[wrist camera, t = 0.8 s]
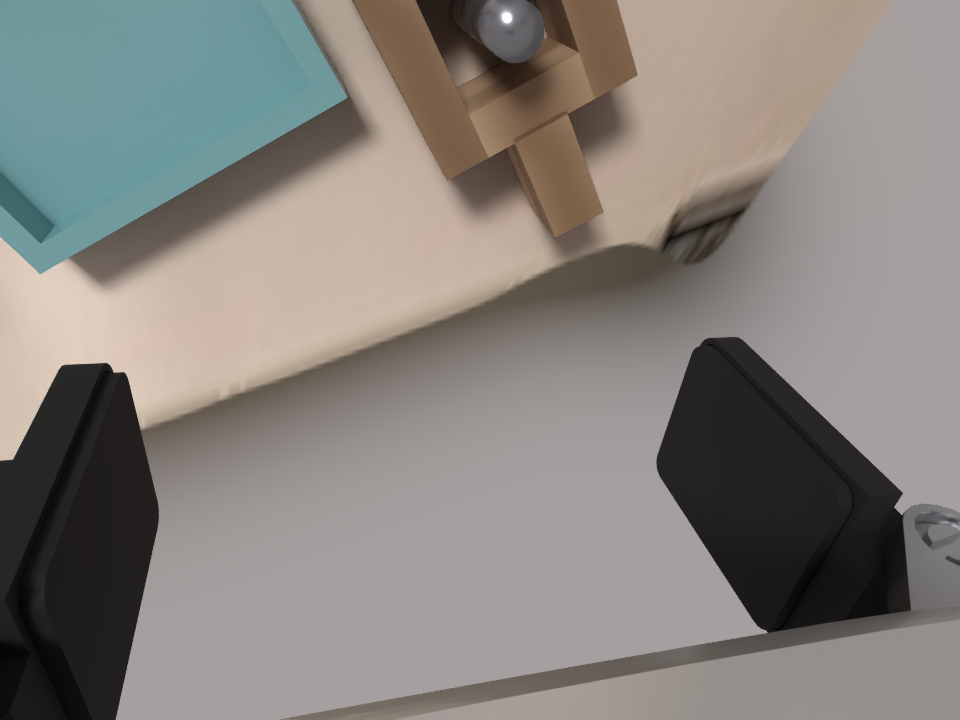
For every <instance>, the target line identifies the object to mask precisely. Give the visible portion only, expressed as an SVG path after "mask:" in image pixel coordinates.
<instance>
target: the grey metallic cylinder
mask: <svg viewBox="0 0 960 720" xmlns="http://www.w3.org/2000/svg"><path fill="white" fill-rule="evenodd" d="M453 15H454V19H455V21H456V23H457V25H458V26H459V27H460V28H461V29H462V30H463V31H464V32H466V33H467V34H468V35H470V36H471V37H472V38H474V39H475V40H476V41H478V42H479V43H480V44H482V45H483V46H484V47H486V48H487V49H488V50H490V51H491V52H492V53H494V54H495V55H496V56H498V57H499V58H500V59H502V60H504V61H506V62H509V63H521V62H524V61H526V60H528V59H529V58H531V57H532V56H533V55H534V54H535V53H536V52H537V51H538V49H539V47H540V46H541V43H542V41H543V37H544V22H543V18H542V16H541V13H540V12H539V10H538V9H537V8H536V7H535V6H534V5H533V4H532V3H530V2H528V1H526V0H454V1H453Z"/></svg>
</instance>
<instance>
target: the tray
mask: <svg viewBox="0 0 960 720" xmlns="http://www.w3.org/2000/svg"><path fill="white" fill-rule="evenodd" d="M346 98H348V97H347V93H346V89H345V86H344V83H343V81H342V80H341V78H340V76H339V74H338V73H337V71H336V69H335V67H334V66H333V64H332V62H331V60H330V59H329V57H328V55H327V53H326V52H325V50H324V48H323V47H322V45H321V43H320V41H319V40H318V38H317V36H316V34H315V33H314V31H313V29H312V27H311V26H310V24H309V22H308V20H307V19H306V17H305V15H304V13H303V12H302V10H301V8H300V6H299V5H298V3H297V1H296V0H0V237H1V238H2V239H3V240H5V241H6V242H7V243H8V244H9V245H10V246H11V247H12V248H13V249H14V250H15V251H16V252H17V253H18V254H20V255H21V256H22V257H23V258H24V259H25V260H26V261H27V262H28V263H29V264H30V265H31V266H32V267H34V268H35V269H36V270H37V271H38V272H39V273H40V274H41V273H43V272H45V271H47V270H48V269H50V268H52V267H54V266H55V265H57V264H59V263H60V262H62V261H64V260H66V259H67V258H69V257H71V256H73V255H74V254H76V253H78V252H80V251H81V250H83V249H85V248H87V247H88V246H90V245H92V244H94V243H95V242H97V241H99V240H101V239H102V238H104V237H106V236H108V235H109V234H111V233H113V232H115V231H116V230H118V229H120V228H122V227H123V226H125V225H127V224H128V223H130V222H132V221H134V220H135V219H137V218H139V217H141V216H142V215H144V214H146V213H148V212H149V211H151V210H153V209H155V208H156V207H158V206H160V205H162V204H163V203H165V202H167V201H169V200H170V199H172V198H174V197H176V196H177V195H179V194H181V193H183V192H184V191H186V190H188V189H189V188H191V187H193V186H195V185H196V184H198V183H200V182H202V181H203V180H205V179H207V178H209V177H210V176H212V175H214V174H216V173H217V172H219V171H221V170H223V169H224V168H226V167H228V166H230V165H231V164H233V163H235V162H237V161H238V160H240V159H242V158H244V157H245V156H247V155H249V154H251V153H252V152H254V151H256V150H257V149H259V148H261V147H263V146H264V145H266V144H268V143H270V142H271V141H273V140H275V139H277V138H278V137H280V136H282V135H284V134H285V133H287V132H289V131H291V130H292V129H294V128H296V127H298V126H299V125H301V124H303V123H305V122H306V121H308V120H310V119H312V118H313V117H315V116H317V115H318V114H320V113H322V112H324V111H325V110H327V109H329V108H331V107H332V106H334V105H336V104H338V103H339V102H341V101H343V100H345V99H346Z"/></svg>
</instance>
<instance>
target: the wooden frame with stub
mask: <svg viewBox="0 0 960 720" xmlns="http://www.w3.org/2000/svg"><path fill="white" fill-rule="evenodd" d="M352 1H353V3H354V5H355V7H356V8H357V10H358V12H359V14H360V16H361V18H362V20H363V22H364V24H365V26H366V28H367V29H368V31H369V33H370V35H371V37H372V39H373V41H374V43H375V45H376V47H377V49H378V51H379V52H380V54H381V56H382V58H383V60H384V62H385V64H386V66H387V68H388V70H389V72H390V73H391V75H392V77H393V79H394V81H395V83H396V85H397V87H398V89H399V91H400V93H401V95H402V96H403V98H404V100H405V102H406V104H407V106H408V108H409V110H410V112H411V114H412V116H413V117H414V119H415V121H416V123H417V125H418V127H419V129H420V131H421V133H422V135H423V137H424V139H425V140H426V142H427V144H428V146H429V148H430V150H431V152H432V154H433V156H434V157H435V159H436V161H437V163H438V165H439V167H440V168H441V170H442V172H443V174H444V176H445V178H446V179H447V181H448V180H450V179H452V178H453V177H455V176H457V175H459V174H461V173H462V172H464V171H466V170H468V169H470V168H471V167H473V166H475V165H477V164H479V163H480V162H482V161H484V160H486V159H488V158H489V157H491V156H493V155H495V154H497V153H498V152H500V151H502V150H504V149H506V151H507V153H508V155H509V158H510V160H511V162H512V164H513V167H514V169H515V171H516V173H517V176H518V178H519V180H520V183H521V185H522V187H523V189H524V192H525V194H526V196H527V198H528V201H529V203H530V205H531V207H532V208H533V209H534V211H535V212H536V213H537V215H538V216H539V217H540V218H541V220H542V221H543V222H544V224H545V225H546V226H547V227H548V229H549V230H550V231H551V233H552V234H553V235H554V236H555V238H557V237H559V236H560V235H562V234H564V233H566V232H568V231H570V230H572V229H573V228H575V227H577V226H579V225H581V224H583V223H585V222H586V221H588V220H590V219H592V218H594V217H596V216H598V215H599V214H601V213H603V209H602V206H601V204H600V201H599V198H598V195H597V193H596V190H595V187H594V184H593V182H592V179H591V176H590V173H589V171H588V168H587V165H586V163H585V160H584V157H583V154H582V152H581V149H580V146H579V143H578V141H577V138H576V135H575V132H574V130H573V127H572V124H571V121H570V119H569V116H568V114H569V113H571V112H572V111H574V110H576V109H578V108H580V107H581V106H583V105H585V104H587V103H589V102H590V101H592V100H594V99H596V98H598V97H599V96H601V95H603V94H605V93H607V92H608V91H610V90H612V89H614V88H616V87H618V86H619V85H621V84H623V83H625V82H627V81H628V80H630V79H632V78H634V77H636V76H637V75H638V74H637V71H636V67H635V64H634V60H633V57H632V53H631V50H630V46H629V43H628V39H627V35H626V32H625V28H624V25H623V21H622V18H621V14H620V11H619V7H618V4H617V0H535V1H536V4H537V7H538V10H539V12H540V13H541V16H542V18H543V22H544V27H545V29H546V32H547V35H548V37H546V38H545V39H543V41H542V43H541V46H540V47H539V49H538V51H537V52H536V53H535V54H534V55H533V56H532V57H531V58H529V59H528V60H526V61H524V62H521V63H509V62H506V61H504V62H502V63H501V64H499V65H497V66H495V67H493V68H492V69H490V70H488V71H486V72H485V73H483V74H481V75H479V76H478V77H476V78H474V79H472V80H470V81H469V82H467V83H465V84H463V85H462V86H460V87H458V88H456V86H455V84H454V82H453V80H452V78H451V76H450V73H449V71H448V69H447V67H446V65H445V63H444V60H443V58H442V56H441V54H440V52H439V50H438V48H437V45H436V43H435V41H434V39H433V37H432V35H431V33H430V30H429V28H428V26H427V24H426V22H425V20H424V17H423V15H422V13H421V11H420V9H419V7H418V5H417V2H416V0H352Z"/></svg>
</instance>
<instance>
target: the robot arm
mask: <svg viewBox="0 0 960 720" xmlns="http://www.w3.org/2000/svg"><path fill="white" fill-rule="evenodd" d="M657 470H658V473H659V475H660V477H661V479H662V480H663V482H664V484H665V485H666V486H667V488H668V490H669V491H670V493H671V494H672V496H673V497H674V499H675V501H676V502H677V504H678V505H679V507H680V508H681V510H682V511H683V513H684V514H685V516H686V517H687V519H688V520H689V522H690V524H691V525H692V527H693V528H694V530H695V531H696V533H697V534H698V536H699V538H700V539H701V541H702V542H703V544H704V545H705V547H706V548H707V549H708V551H709V553H710V554H711V556H712V558H713V559H714V561H715V562H716V564H717V565H718V567H719V568H720V570H721V571H722V573H723V574H724V576H725V578H726V579H727V580H728V582H729V583H730V585H731V587H732V588H733V590H734V591H735V593H736V595H737V596H738V598H739V599H740V600H741V602H742V604H743V605H744V607H745V608H746V610H747V611H748V613H749V614H750V616H751V618H752V619H753V620H754V622H755V623H756V624H757V626H759V627H760V628H761V629H764V630H766V631H767V632H768V633H766V634H759V635H754V636H748V637H742V638H736V639H731V640H724V641H718V642H712V643H707V644H700V645H695V646H689V647H683V648H677V649H672V650H666V651H660V652H654V653H648V654H643V655H637V656H632V657H625V658H620V659H614V660H608V661H603V662H597V663H591V664H585V665H580V666H574V667H568V668H563V669H557V670H551V671H546V672H540V673H535V674H529V675H523V676H518V677H512V678H506V679H500V680H495V681H489V682H484V683H479V684H472V685H467V686H461V687H456V688H450V689H445V690H439V691H434V692H428V693H423V694H417V695H412V696H406V697H401V698H395V699H390V700H384V701H378V702H373V703H367V704H362V705H356V706H351V707H345V708H340V709H334V710H329V711H323V712H318V713H312V714H307V715H302V716H296V717H291V718H286V719H281V720H960V513H959V512H957V511H955V510H952V509H949V508H946V507H942V506H938V505H932V504H931V505H930V504H919V505H914V506H911V507H910V508H908V509H907V510H906V511H905V512H904V514H903V515H901V514H900V513H899V512H898V511H897V510H896V509H895V508H894V506H895V505H896V503H897V502H898V500H899V499H900V497H901V495H902V494H903V493H902V492H901V491H900V490H899V489H898V488H897V487H896V486H895V485H894V484H893V483H892V482H891V481H890V480H889V479H888V478H886V477H885V475H884V474H882V473H881V472H880V471H879V470H878V469H877V468H876V467H875V466H874V465H873V464H872V463H871V462H870V461H869V460H868V459H867V458H866V457H865V456H864V455H862V454H861V453H860V452H859V451H858V450H857V449H856V448H855V447H854V446H853V445H852V444H851V443H850V442H849V441H848V440H847V439H846V438H845V437H844V436H843V435H842V434H841V433H839V432H838V431H837V430H836V429H835V428H834V427H833V426H832V425H831V424H830V423H829V422H828V421H827V420H826V419H825V418H824V417H823V416H822V415H821V414H820V413H819V412H818V411H816V410H815V409H814V408H813V407H812V406H811V405H810V404H809V403H808V402H807V401H806V400H805V399H804V398H803V397H802V396H801V395H800V394H799V393H797V391H795V390H794V389H793V388H792V387H791V386H790V385H789V384H788V383H787V382H786V381H785V380H784V379H783V378H782V377H781V376H780V375H779V374H778V373H776V371H775V370H773V369H772V368H771V367H770V366H769V365H768V364H767V363H766V362H765V361H764V360H763V359H762V358H761V357H760V356H759V355H758V354H757V353H756V352H755V351H754V350H752V349H751V348H750V347H749V346H748V345H747V344H746V343H745V342H744V341H743V340H742V339H740V338H737V337H726V338H708V339H705V340H704V341H703V342H702V344H701V345H700V346H699V347H697V348H695V349H694V350H693V353H692V355H691V358H690V361H689V364H688V367H687V370H686V372H685V375H684V378H683V381H682V384H681V387H680V390H679V393H678V396H677V399H676V402H675V405H674V408H673V411H672V414H671V417H670V420H669V423H668V426H667V429H666V432H665V435H664V438H663V441H662V444H661V447H660V450H659V453H658V456H657ZM158 520H159V509H158V501H157V497H156V493H155V489H154V485H153V481H152V476H151V472H150V468H149V464H148V460H147V456H146V451H145V447H144V443H143V439H142V435H141V431H140V426H139V422H138V418H137V414H136V410H135V406H134V401H133V397H132V393H131V389H130V385H129V381H128V378H127V376H126V374H125V373H124V372H120V373H113V370H112V368H111V366H110V365H109V364H107V363H98V364H74V365H63V366H61V368H60V369H59V371H58V373H57V375H56V377H55V378H54V380H53V382H52V384H51V386H50V388H49V390H48V392H47V394H46V396H45V398H44V400H43V402H42V404H41V406H40V408H39V410H38V412H37V414H36V416H35V418H34V420H33V422H32V424H31V426H30V428H29V430H28V432H27V433H26V435H25V437H24V439H23V441H22V443H21V445H20V447H19V449H18V451H17V453H16V455H15V457H14V459H13V460H4V461H0V720H116V715H117V711H118V706H119V702H120V697H121V692H122V688H123V683H124V679H125V674H126V670H127V665H128V660H129V655H130V651H131V647H132V642H133V637H134V633H135V629H136V624H137V619H138V615H139V610H140V606H141V601H142V597H143V592H144V587H145V583H146V578H147V574H148V569H149V564H150V560H151V555H152V550H153V546H154V542H155V537H156V533H157V528H158Z"/></svg>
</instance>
